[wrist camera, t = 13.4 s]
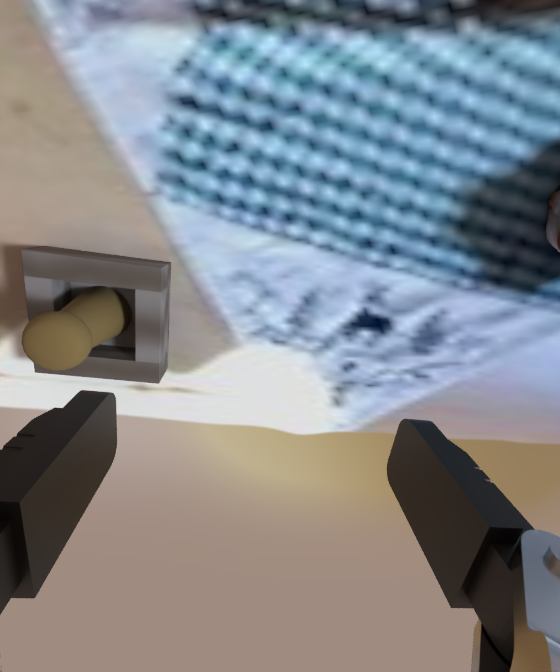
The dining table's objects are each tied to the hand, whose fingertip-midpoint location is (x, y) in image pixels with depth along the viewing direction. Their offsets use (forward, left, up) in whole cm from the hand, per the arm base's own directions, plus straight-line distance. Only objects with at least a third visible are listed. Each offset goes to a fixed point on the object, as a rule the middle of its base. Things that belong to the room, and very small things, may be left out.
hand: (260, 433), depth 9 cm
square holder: (+7, -16, -30) cm, 35 cm away
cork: (+7, -17, -30) cm, 35 cm away
